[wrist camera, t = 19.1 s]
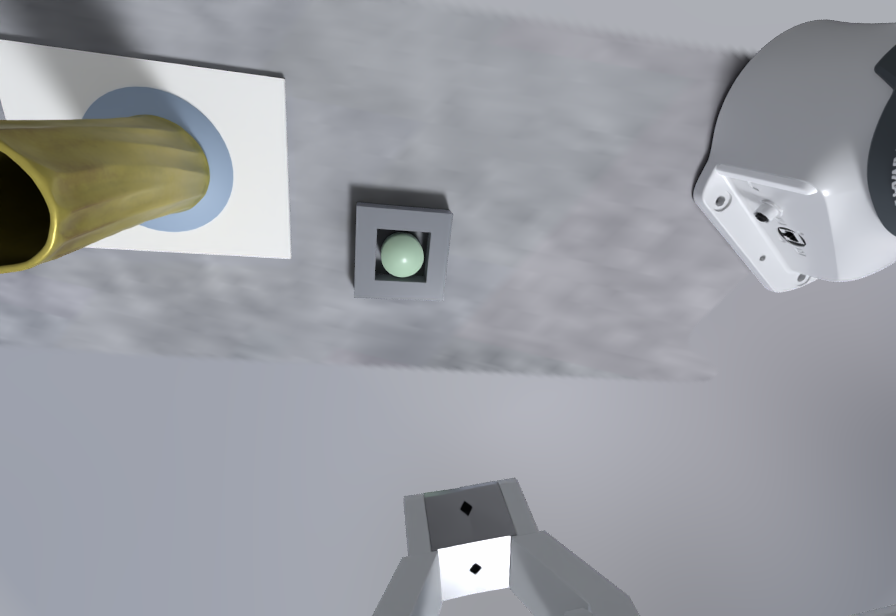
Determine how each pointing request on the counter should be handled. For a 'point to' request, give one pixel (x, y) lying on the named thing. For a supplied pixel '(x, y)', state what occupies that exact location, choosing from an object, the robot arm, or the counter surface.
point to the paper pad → (199, 113)
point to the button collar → (405, 220)
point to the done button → (402, 254)
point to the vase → (90, 182)
